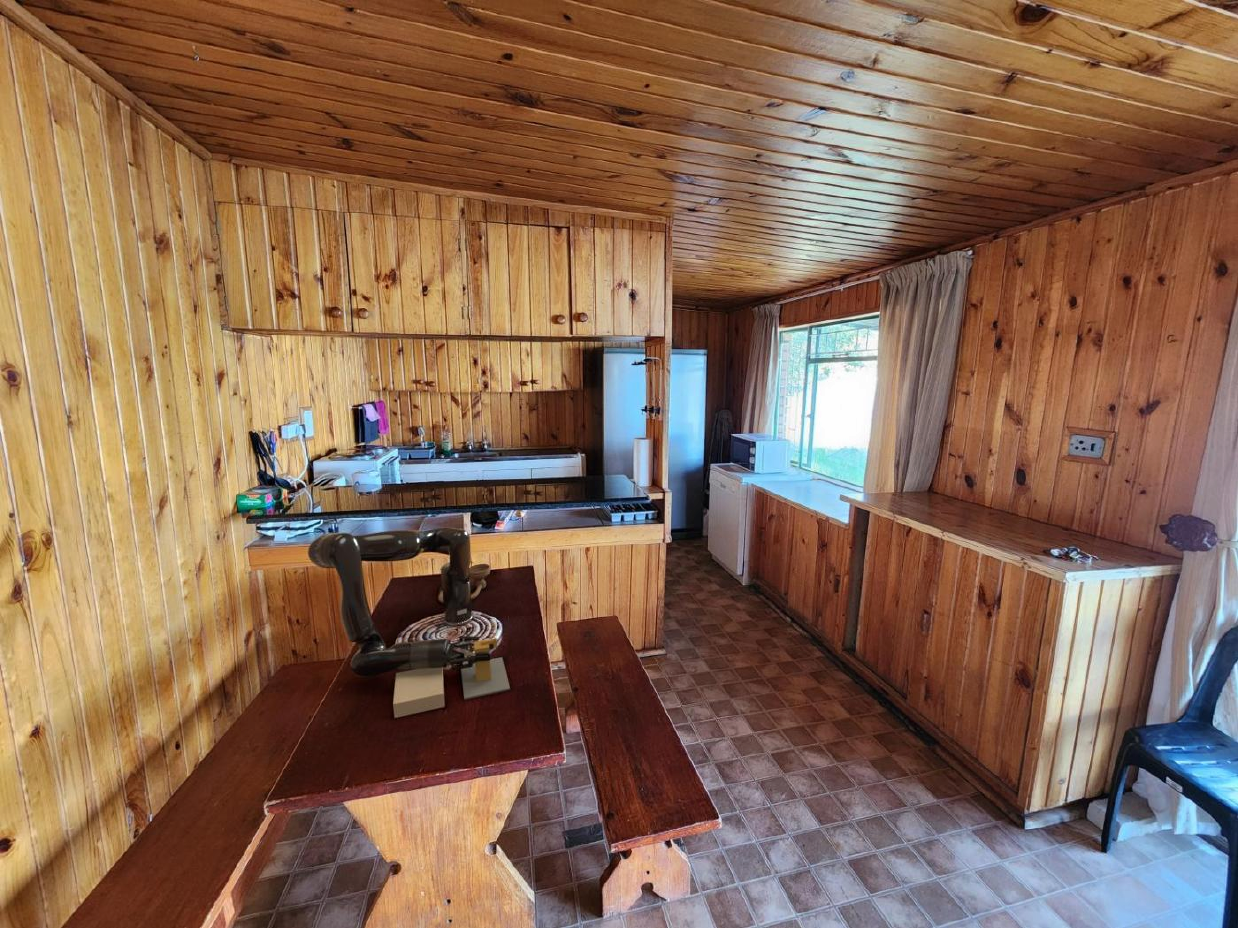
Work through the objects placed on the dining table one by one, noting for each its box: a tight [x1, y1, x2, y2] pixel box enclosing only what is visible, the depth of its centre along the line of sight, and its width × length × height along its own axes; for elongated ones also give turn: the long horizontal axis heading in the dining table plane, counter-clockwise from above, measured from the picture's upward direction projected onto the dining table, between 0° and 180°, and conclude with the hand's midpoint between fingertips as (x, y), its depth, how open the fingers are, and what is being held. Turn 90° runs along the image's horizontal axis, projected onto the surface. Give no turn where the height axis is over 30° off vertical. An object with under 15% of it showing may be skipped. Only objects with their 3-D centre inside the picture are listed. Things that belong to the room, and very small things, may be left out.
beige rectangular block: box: [392, 668, 446, 719], centre depth 135 cm, size 14×12×4 cm
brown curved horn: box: [437, 563, 491, 604], centre depth 197 cm, size 24×9×19 cm
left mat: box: [460, 657, 511, 701], centre depth 143 cm, size 16×12×1 cm
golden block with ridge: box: [473, 637, 498, 682], centre depth 142 cm, size 4×6×11 cm, turn 106°
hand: (491, 650), depth 142 cm, fingers open, 5 cm apart
